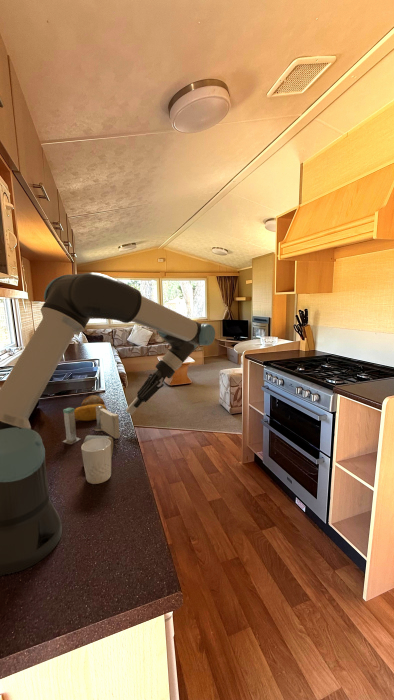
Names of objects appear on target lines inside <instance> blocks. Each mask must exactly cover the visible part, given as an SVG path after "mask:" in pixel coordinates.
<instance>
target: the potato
mask: <svg viewBox="0 0 394 700" xmlns="http://www.w3.org/2000/svg"><path fill="white" fill-rule="evenodd" d="M99 405H101V406H103V408H104V409H106V410H107V411H108V408H107V406H106V404H105V405H102V404H94V405H87V406H82V405H81V406H79V407H76V408H74V415H75V420H79V421H84V422H92V421H95V420H96V421H97V418H96V406H99Z"/></svg>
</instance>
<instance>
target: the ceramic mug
mask: <svg viewBox="0 0 394 700" xmlns="http://www.w3.org/2000/svg"><path fill="white" fill-rule="evenodd" d="M97 438H105V439H108V440H110V441H111V458H112V457H113V452H114V438H112V436H110V435H109V436H108V435H92V434H91V435H90V434H89V435H86V436H85V438H84V440H83V444H84V443H85V442H87V441H89V440H92V439H97ZM83 444H82V445H83Z"/></svg>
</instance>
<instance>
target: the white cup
mask: <svg viewBox="0 0 394 700" xmlns="http://www.w3.org/2000/svg"><path fill="white" fill-rule="evenodd" d="M83 443H84V442H83ZM80 450H81V456H82V463H83V467H84V472H85V473H84V474H85V479H86V481H87V483H89V484H92V485H96V484H102V483H105V482H106V481H108V480H109V479H110V478H112V477H111V475H112V457H111V441H110V440H108V439H105V438H97V439H92V440H89V441H87V442H85V443H84V444H81V448H80Z"/></svg>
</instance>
